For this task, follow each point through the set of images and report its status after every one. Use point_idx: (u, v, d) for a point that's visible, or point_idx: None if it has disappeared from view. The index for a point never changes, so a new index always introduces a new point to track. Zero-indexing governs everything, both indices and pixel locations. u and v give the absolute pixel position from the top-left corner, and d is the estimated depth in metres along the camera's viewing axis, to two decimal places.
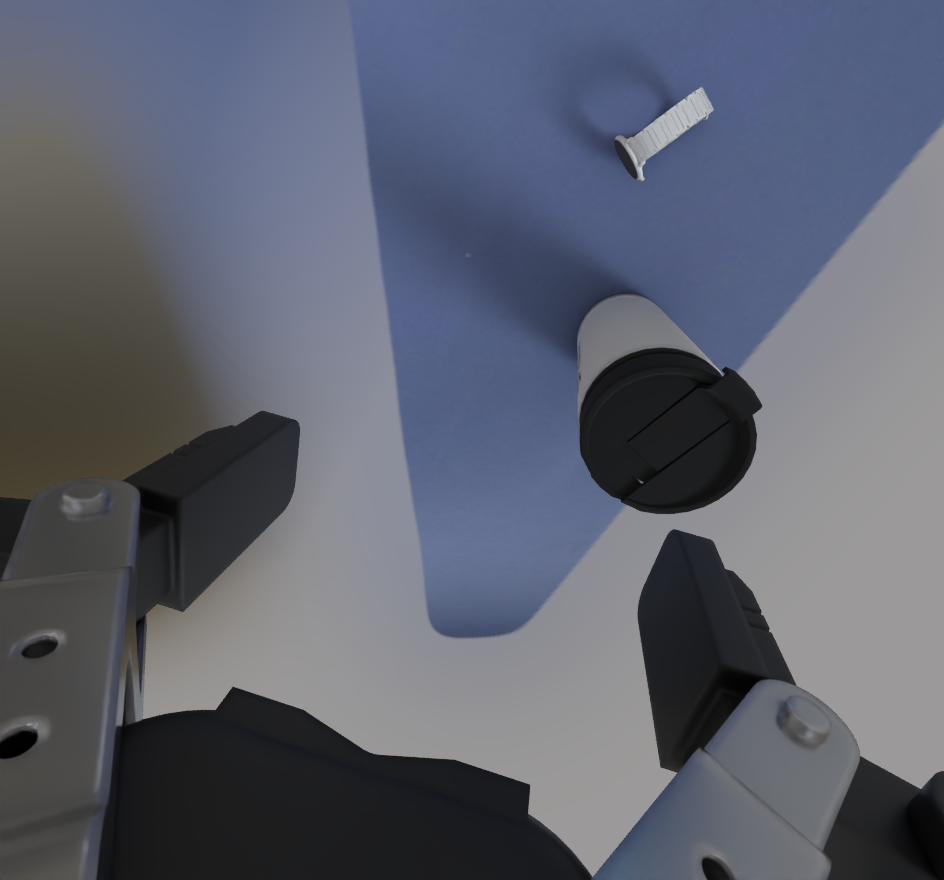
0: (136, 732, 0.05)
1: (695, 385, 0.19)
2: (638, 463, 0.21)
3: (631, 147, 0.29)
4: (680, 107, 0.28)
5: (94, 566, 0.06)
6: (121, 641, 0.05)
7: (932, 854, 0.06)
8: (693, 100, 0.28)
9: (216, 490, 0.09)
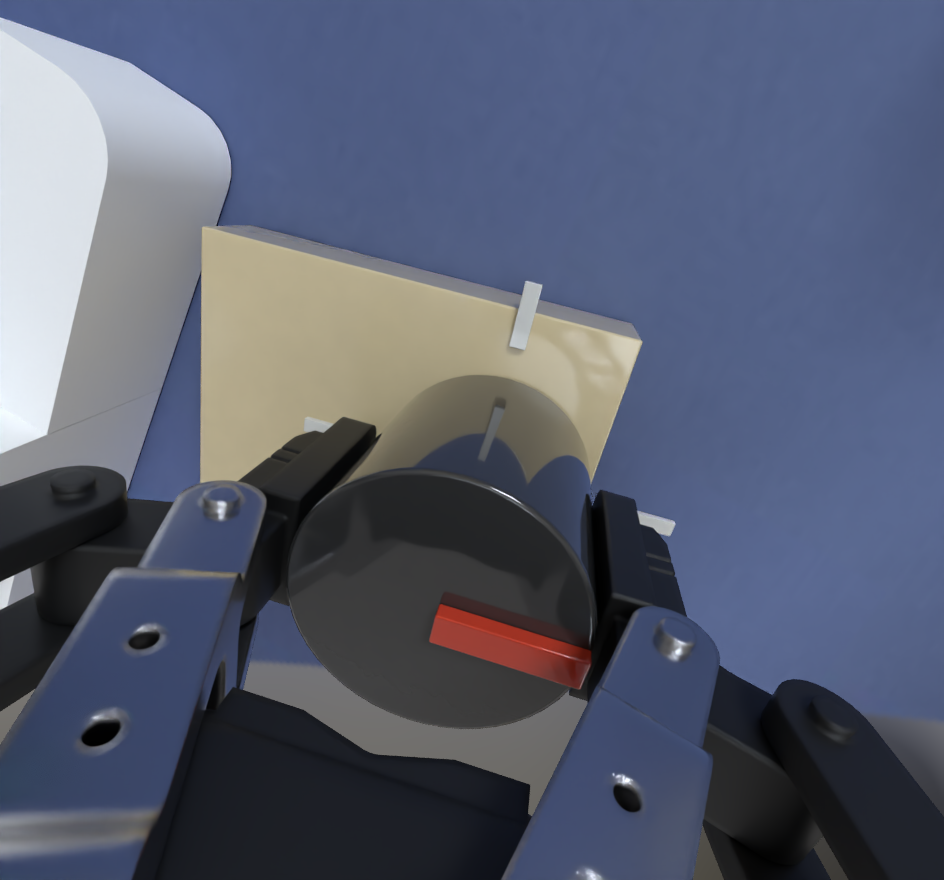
0: (211, 742, 0.05)
1: None
2: None
3: None
4: None
5: (213, 565, 0.07)
6: (211, 648, 0.05)
7: (774, 747, 0.07)
8: None
9: (320, 492, 0.09)
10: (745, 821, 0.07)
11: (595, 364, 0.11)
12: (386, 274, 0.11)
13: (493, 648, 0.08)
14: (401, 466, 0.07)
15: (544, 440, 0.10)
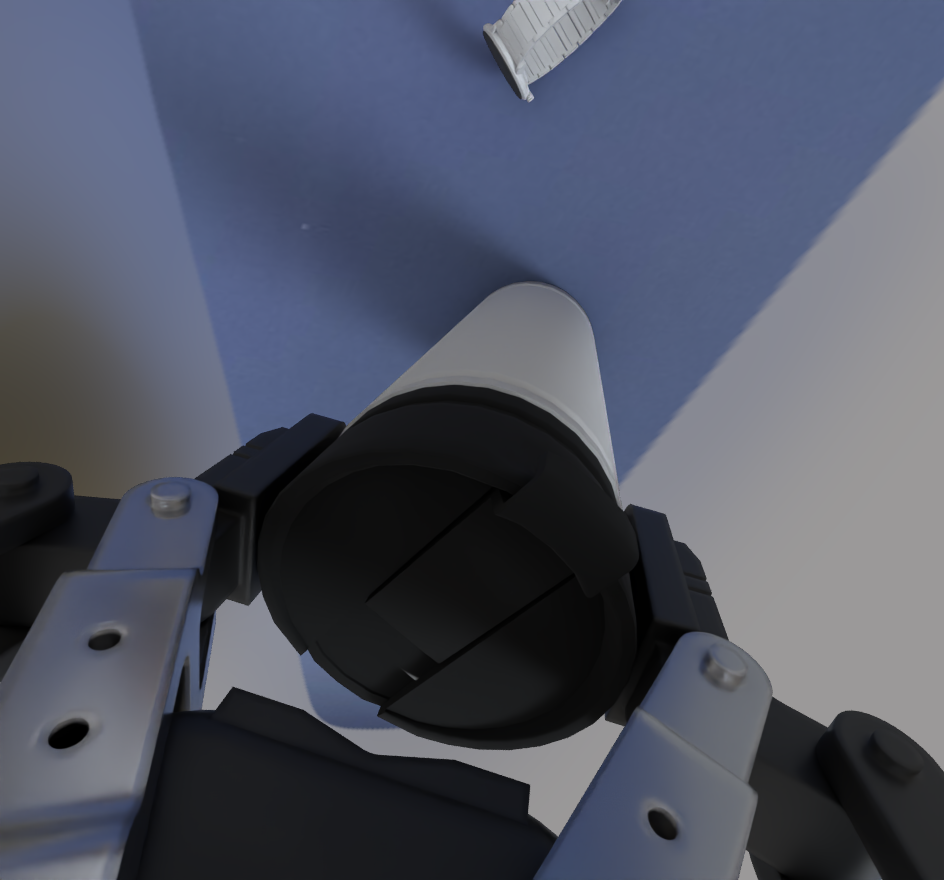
0: (182, 736, 0.05)
1: (488, 488, 0.08)
2: (400, 641, 0.09)
3: (501, 38, 0.18)
4: None
5: (168, 563, 0.06)
6: (177, 643, 0.05)
7: (833, 783, 0.06)
8: None
9: (280, 489, 0.09)
10: (801, 860, 0.06)
11: None
12: None
13: None
14: None
15: None
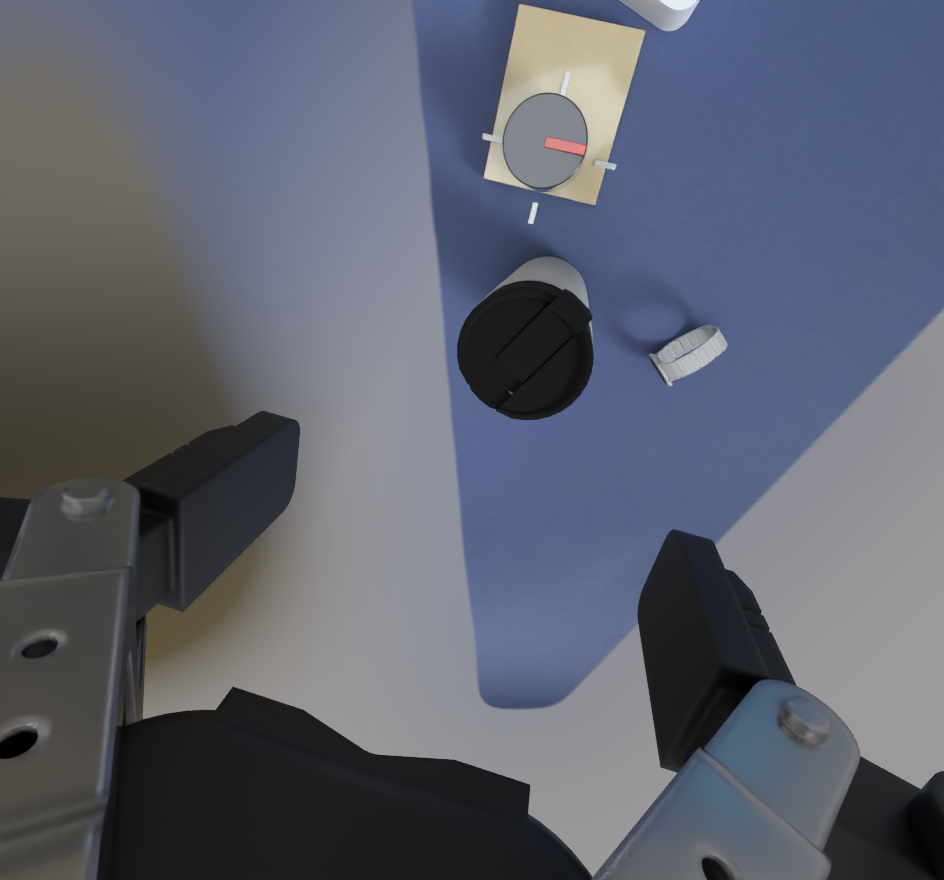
0: (136, 732, 0.05)
1: (544, 305, 0.23)
2: (507, 376, 0.25)
3: (663, 369, 0.38)
4: (702, 349, 0.36)
5: (94, 566, 0.06)
6: (121, 641, 0.05)
7: (932, 854, 0.06)
8: (712, 342, 0.36)
9: (216, 490, 0.09)
10: None
11: (588, 190, 0.36)
12: None
13: (561, 144, 0.31)
14: None
15: None
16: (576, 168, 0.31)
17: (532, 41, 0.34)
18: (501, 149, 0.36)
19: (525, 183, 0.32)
